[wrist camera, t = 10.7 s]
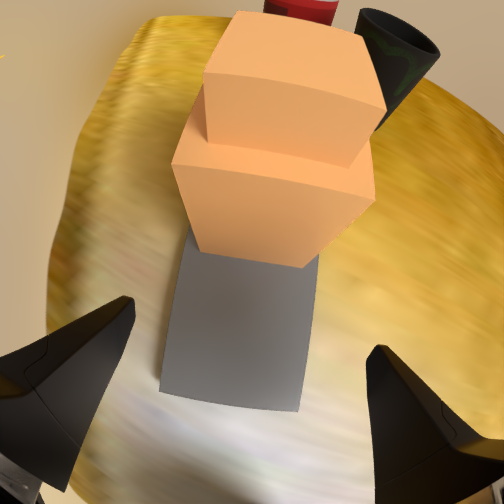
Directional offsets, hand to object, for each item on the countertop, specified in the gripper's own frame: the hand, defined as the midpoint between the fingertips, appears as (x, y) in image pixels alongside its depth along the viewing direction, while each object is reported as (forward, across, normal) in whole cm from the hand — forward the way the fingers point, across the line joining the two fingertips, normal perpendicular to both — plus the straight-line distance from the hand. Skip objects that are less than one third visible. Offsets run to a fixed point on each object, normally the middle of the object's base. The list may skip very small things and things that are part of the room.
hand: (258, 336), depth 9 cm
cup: (+23, -8, -10) cm, 26 cm away
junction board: (+9, 0, +4) cm, 10 cm away
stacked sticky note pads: (+11, 0, 0) cm, 11 cm away
